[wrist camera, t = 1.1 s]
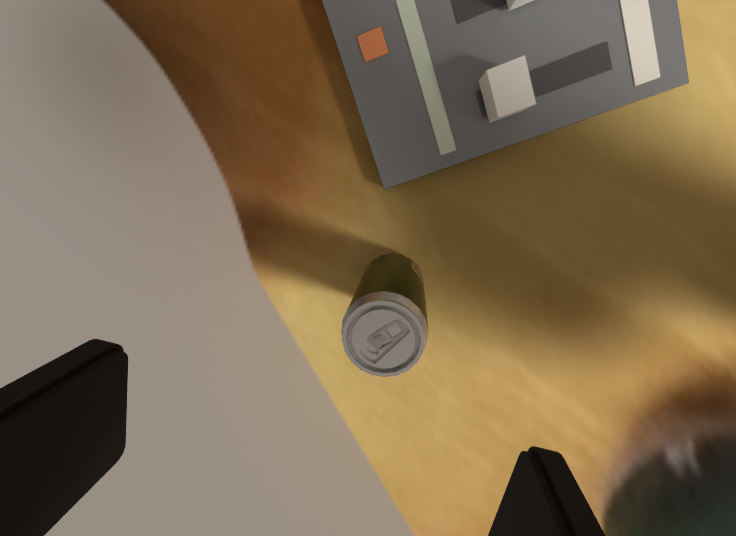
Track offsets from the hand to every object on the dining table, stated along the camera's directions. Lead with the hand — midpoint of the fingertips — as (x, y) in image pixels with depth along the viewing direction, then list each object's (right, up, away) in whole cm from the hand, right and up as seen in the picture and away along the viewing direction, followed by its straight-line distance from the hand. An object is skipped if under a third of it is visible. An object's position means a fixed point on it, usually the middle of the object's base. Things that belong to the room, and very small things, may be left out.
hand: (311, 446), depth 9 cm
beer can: (+4, +3, +25) cm, 26 cm away
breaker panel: (+10, +23, +19) cm, 32 cm away
